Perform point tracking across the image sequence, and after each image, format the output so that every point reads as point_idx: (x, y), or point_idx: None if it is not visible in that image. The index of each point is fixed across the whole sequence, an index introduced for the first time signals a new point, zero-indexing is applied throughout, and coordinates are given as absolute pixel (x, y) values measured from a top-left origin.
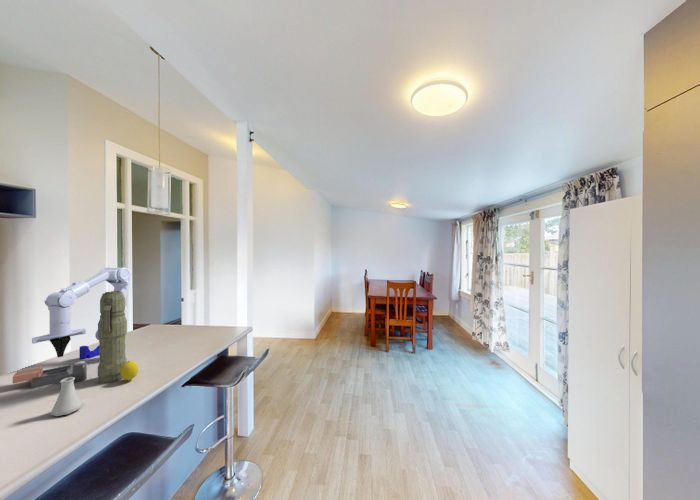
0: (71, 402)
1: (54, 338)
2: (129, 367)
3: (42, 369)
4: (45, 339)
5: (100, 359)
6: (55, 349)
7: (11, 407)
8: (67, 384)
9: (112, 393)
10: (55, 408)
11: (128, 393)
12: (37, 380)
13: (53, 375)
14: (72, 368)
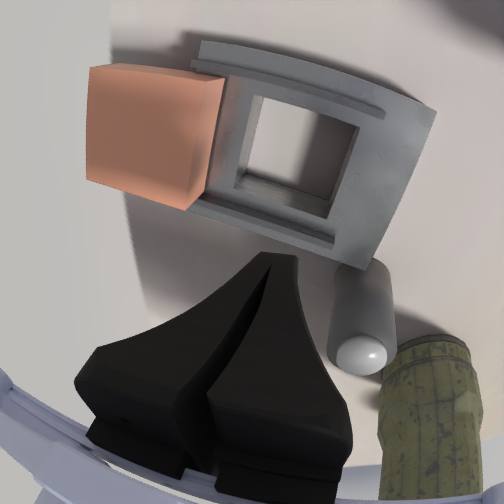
0: None
1: (140, 471)
2: None
3: (212, 92)
4: (62, 440)
5: (382, 459)
6: (218, 298)
7: (157, 314)
8: None
9: (354, 432)
10: None
11: (369, 448)
12: (198, 209)
13: (264, 223)
14: (329, 331)
